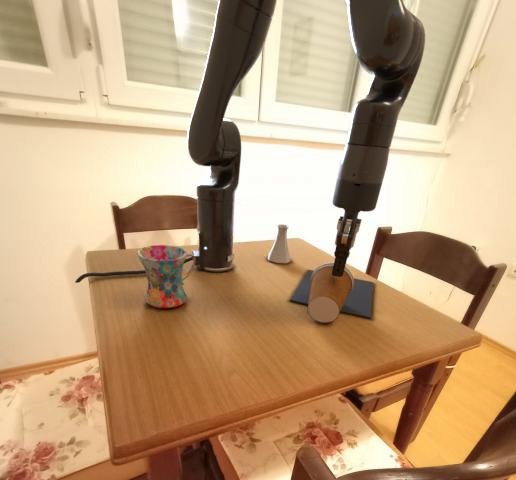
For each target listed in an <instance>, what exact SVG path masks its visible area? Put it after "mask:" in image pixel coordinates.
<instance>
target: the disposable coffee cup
mask: <svg viewBox="0 0 516 480" xmlns="http://www.w3.org/2000/svg"><path fill="white" fill-rule="evenodd" d="M333 266H334V261H329V262H325V263H323V264H320V265H319V266H317V267H316V268H315V269H314V270H313V271H314V272H313V273H312V275H311V282H310V283H311V290H310V296H309V303H308V305H307V313H308V314H309V316H310V317H311V318H312V319H313V320H314V321H317V322H319V323H322V324H323V323H324V324H326V323H331V322H333V321H335V320H336V319H338V317H339V315H340V313H341V312H340V311H341V309H342V307H343V304H344V302H345V300H346V298H347V296H348V295H349V294H350V293H351V291H352V289H353V286H354V279H355V278H354V276H353V273H352V272H351V270H350V269H349V268H348V267H347V266H346V265H345V269H344V273H343V276H342V277H338V276H333V275H332V270H333Z"/></svg>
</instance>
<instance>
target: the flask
mask: <svg viewBox="0 0 516 480" xmlns="http://www.w3.org/2000/svg"><path fill="white" fill-rule="evenodd" d="M288 229H289V225H287V224H277V233H276V237H275V240H274V242H273V244H272V247H271V249H270V251H269V253H268V255H267V260H268V261H269V262H272V263H275V264H288V263H289V262H291V261H292V260H291V254H290V250H289V244H288Z"/></svg>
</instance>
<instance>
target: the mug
mask: <svg viewBox="0 0 516 480" xmlns="http://www.w3.org/2000/svg"><path fill="white" fill-rule="evenodd" d="M136 255H137V257H138V259H139V261H140V263H141V265H142V268H143V270H145V272H146V274H145V275H146V281H147V290H146V294H145V297H144V300H145V302H146V303H147V304H148V305H149V306H152V307H153V308H159V309H171V308H177V307H179V306H181V305H183V304H185V303H186V301H187V300H188V296H187V293H186V292H185V290H184V285H185V283H184V282H183V281H185V280H186V279H187V278H189V276H190V275H191V274H192V272H193V271H194V268H195V267H196V265H195V263H196V259H195V257H194V256H193V255H192V253H188V252H187V250H186V249H184V248H182V247H180V246H176V245H167V244H153V245H148V246H144V247H142V248H139V249H138V250H137V252H136ZM189 257H192V258H193V260H192V264H191V266H190V268H189V270H188V272H186V274H185V275H184V276H183V268H184V261H185V259H187V258H189Z"/></svg>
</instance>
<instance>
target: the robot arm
mask: <svg viewBox="0 0 516 480" xmlns="http://www.w3.org/2000/svg"><path fill="white" fill-rule="evenodd" d="M277 1H278V0H219V1H218V5H217V10H216V14H215V20H214V26H213V33H212V36H211V42H210V47H209V50H208V55H207V59H206V63H205V68H204V73H203V76H202V80H201V84H200V88H199V91H198V93H197V98H196V100H195V104H194V107H193V110H192V114H191V118H190V122H189V126H188V130H187V138H186V139H187V140H186V141H187V151H188V155H189V157H190V159H191V161H192V162H193V163H194V164H196V165H198V166H201V167H210V169H209V173H208V175H207V176H206V177H205V178H204V179H203V180H201V181H199V183H198V184H197V185H196V216H197V217H196V219H197V226H196V250H192V253H191V254H192V255H193V256H194V257H195V259H196V263H195V266H198V269H199V271H206V272H210V273H212V272H213V273H221V272H228V271H230V270H231V269H233V267H234V263H233V262H234V261H233V260H234V259H235V253H234V232H235V231H234V230H235V229H234V228H235V205H236V204H235V202H236V201H235V199H236V192H237V189H238V187H239V182H240V173H241V161H242V136H241V133H240V129H239V128H238V126H237V124H236V123H235V122H234V121H232V120H231V119H228V118H225V114H226V112H227V108H228V106H229V103H230V101H231V99H232V97H233V95H234V93H235V91H236V90H237V88H238V87H239V86H240V84H241V83H242V82H243V80H244V79H245V78H246V77H247V75H248V74H249V72H250V71H251V70H252V69H253V67H254V65H255V64H256V62H257V61H258V59H259V57H260V55H261V54H262V52H263V49H264V46H265V45H266V44H265V43H266V40H267V38H268V34H269V31H270V28H271V24H272V21H273V17H274V14H275V10H276V6H277ZM343 1H344V3H345V6H346V8H347V18H348V25H349V32H350V38H351V44H352V48H353V52H354V54H355V57H356V59H357V62H358V63H359V65H360V67H361V68H362V69H363V71H365V72H366V73H367V74H370V75H372V78H371V81H370V84H369V87H368V90H367V92H366V96H365V97H364V98H362V99H360V100H358V101H357V102H356V103H355V105H354V106H353V108H352V112H351V115H350V120H349V125H348V129H347V135H346V139H345V145H344V149H343V152H342V155H341V159H340V162H339V167H338V172H337V177H336V182H335V187H334V191H333V197H332V205H333V206H334V207H336V208H339V209H343V210H344V214H343V216H339V218H338V219H337V224H336V230H337V232H336V236H335V241H334V245H335V249H334V252H333V254H334V261H333V262H334V266H333V270H332V275H333V276H338V277H342V276H343V273H344V269H345V266H346V264H347V261H348V258H350V254H351V250H352V249H353V247H354V245H355V243H356V238H357V234H358V233H359V231H360V227H361V224H362V220H363V219H361V218H358V216H359V214H360V212H364V213H365V212H372V211H375V209H376V207H377V204H378V201H379V196H380V192H381V191H382V190H381V189H382V186H383V181H384V179H385V174H386V171H387V167H388V162H389V156H390V150H391V146H392V143H393V139H394V135H395V131H396V127H397V124H398V119H399V115H400V113H401V111H402V109H403V107H404V105H405V103H406V100H407V98H408V96H409V93H410V91H411V89H412V87H413V84H414V81H415V80H416V77H417V75H418V73H419V70H420V67H421V63H422V60H423V57H424V53H425V45H426V31H425V27H424V24H423V23H422V21H421V19H419V18H418V17H417V16H416V15H415V14H413V12H411V11H410V10H409V9H408V8H407V7H406V4H405V3H404V0H343ZM191 261H193V258H192V257H191V256H189V257H186V258H185V261H184V264H186V263H189V262H191ZM184 264H183V265H184ZM127 275H146V272H145V269H141V270H140V269H139V270H121V271H120V270H119V271H107V272H86V273H83V274H82V275H79V277H77V279H75V281H74V283H76V284H78V283H81V282H82V281H83V280H84V279H86V278H89V277H111V276H113V277H114V276H127Z"/></svg>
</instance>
